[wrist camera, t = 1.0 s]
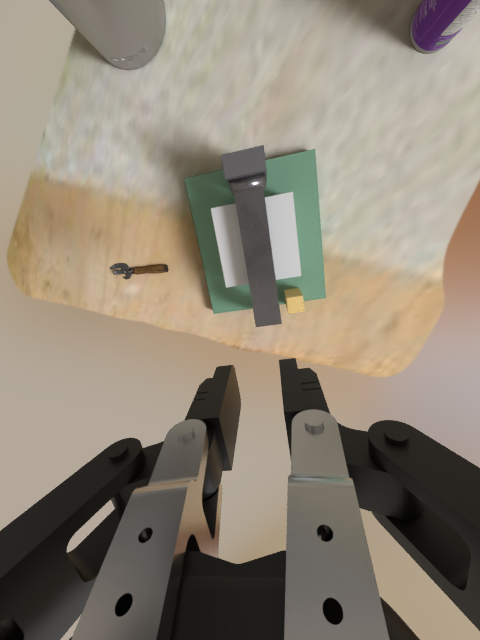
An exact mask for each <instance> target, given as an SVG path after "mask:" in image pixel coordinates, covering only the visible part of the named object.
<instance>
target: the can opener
mask: <svg viewBox="0 0 480 640" xmlns="http://www.w3.org/2000/svg"><path fill="white" fill-rule="evenodd" d="M115 268H121V269H122V270H120V271H113V274H114V275H116V274H126V275H127V277H126V278H125V277H123V278H124V279H129V278H130V277H131V274H145V273H163V272H168V266H167V265H153V266H147V267H135V268H132V269H131V268H129V267H128V265H127V264H124V263H117V264H115V265H113V266H112V267H111V268H110V269H115Z"/></svg>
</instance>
